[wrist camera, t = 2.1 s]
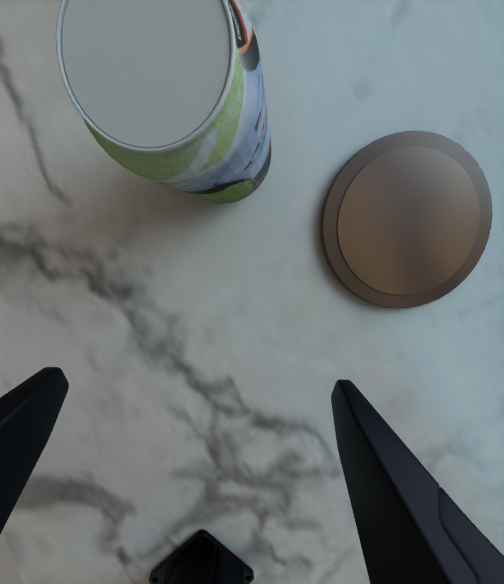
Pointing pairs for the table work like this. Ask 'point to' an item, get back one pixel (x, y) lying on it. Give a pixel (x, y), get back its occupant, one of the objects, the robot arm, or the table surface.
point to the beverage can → (170, 90)
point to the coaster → (406, 219)
